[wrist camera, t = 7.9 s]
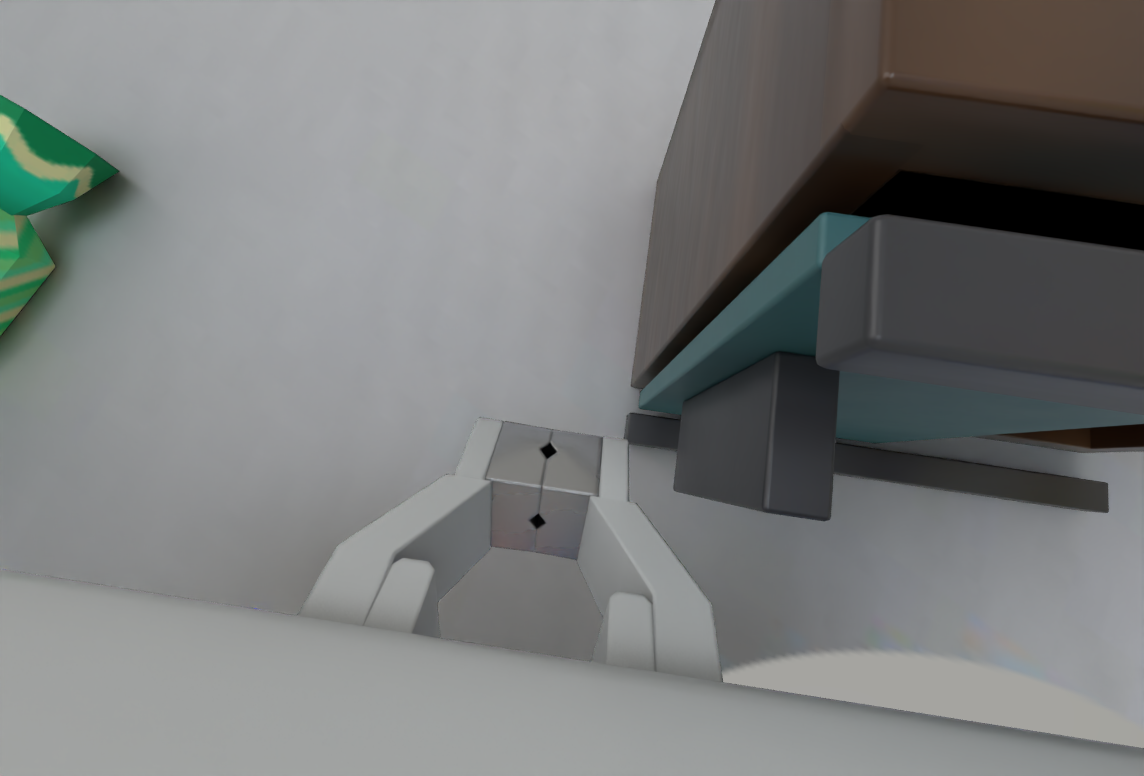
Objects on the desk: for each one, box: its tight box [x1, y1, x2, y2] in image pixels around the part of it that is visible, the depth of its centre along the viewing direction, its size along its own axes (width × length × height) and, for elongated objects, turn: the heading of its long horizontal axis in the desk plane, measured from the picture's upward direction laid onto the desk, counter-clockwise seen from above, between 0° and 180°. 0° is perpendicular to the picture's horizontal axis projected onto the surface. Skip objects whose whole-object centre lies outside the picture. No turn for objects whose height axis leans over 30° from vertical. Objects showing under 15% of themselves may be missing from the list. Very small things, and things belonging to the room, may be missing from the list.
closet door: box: [639, 212, 1144, 521], centre depth 10 cm, size 8×3×12 cm, turn 82°
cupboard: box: [624, 0, 1144, 513], centre depth 11 cm, size 16×10×14 cm, turn 82°
